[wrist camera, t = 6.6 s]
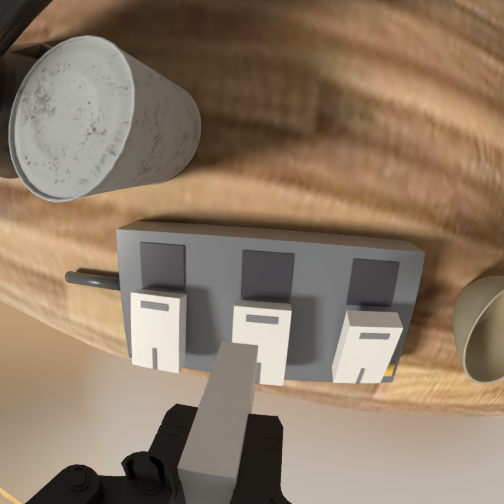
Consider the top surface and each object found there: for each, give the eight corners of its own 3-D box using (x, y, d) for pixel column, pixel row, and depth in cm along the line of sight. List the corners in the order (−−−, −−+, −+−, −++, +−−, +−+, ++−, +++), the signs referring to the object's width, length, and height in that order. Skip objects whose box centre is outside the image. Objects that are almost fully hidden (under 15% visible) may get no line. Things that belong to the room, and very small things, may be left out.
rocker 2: (233, 370, 25) (229, 381, 23) (237, 299, 24) (233, 306, 22) (283, 374, 24) (283, 386, 22) (291, 304, 24) (291, 311, 22)
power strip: (79, 323, 32) (58, 340, 27) (66, 217, 28) (39, 225, 24) (382, 358, 29) (392, 383, 25) (408, 240, 25) (426, 253, 21)
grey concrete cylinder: (179, 62, 24) (110, 4, 12) (218, 158, 25) (162, 152, 14) (92, 111, 25) (-2, 96, 14) (124, 201, 27) (32, 228, 16)
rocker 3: (331, 366, 25) (333, 383, 23) (346, 310, 22) (350, 326, 20) (376, 367, 24) (380, 383, 23) (397, 312, 22) (403, 328, 20)
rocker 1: (141, 356, 25) (132, 364, 23) (140, 288, 25) (130, 292, 23) (185, 364, 25) (178, 373, 23) (186, 294, 24) (179, 298, 23)
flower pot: (415, 306, 27) (445, 344, 20) (486, 235, 24) (529, 256, 17) (456, 362, 28) (483, 401, 21) (518, 301, 25) (554, 329, 19)
